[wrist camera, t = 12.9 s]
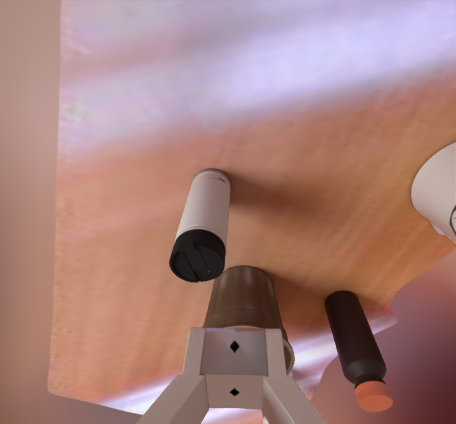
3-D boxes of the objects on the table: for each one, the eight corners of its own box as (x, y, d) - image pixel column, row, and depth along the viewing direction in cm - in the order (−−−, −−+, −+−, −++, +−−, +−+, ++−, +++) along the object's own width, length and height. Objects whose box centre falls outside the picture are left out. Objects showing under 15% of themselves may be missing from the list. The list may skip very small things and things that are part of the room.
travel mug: (223, 161, 49) (212, 238, 32) (235, 197, 52) (231, 283, 36) (186, 172, 50) (157, 251, 33) (200, 206, 54) (180, 293, 37)
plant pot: (198, 256, 60) (184, 328, 46) (284, 254, 58) (296, 326, 45) (207, 315, 68) (198, 390, 55) (282, 313, 67) (292, 390, 53)
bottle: (322, 292, 63) (352, 393, 46) (357, 287, 62) (401, 389, 45) (325, 314, 67) (353, 417, 50) (358, 310, 66) (399, 413, 49)
